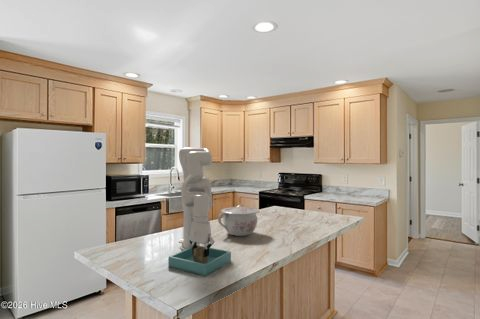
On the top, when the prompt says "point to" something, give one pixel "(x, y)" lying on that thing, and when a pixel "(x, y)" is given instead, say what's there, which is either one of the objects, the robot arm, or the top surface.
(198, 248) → the walnut block
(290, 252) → the top surface
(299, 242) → the top surface
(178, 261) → the bin
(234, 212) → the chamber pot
